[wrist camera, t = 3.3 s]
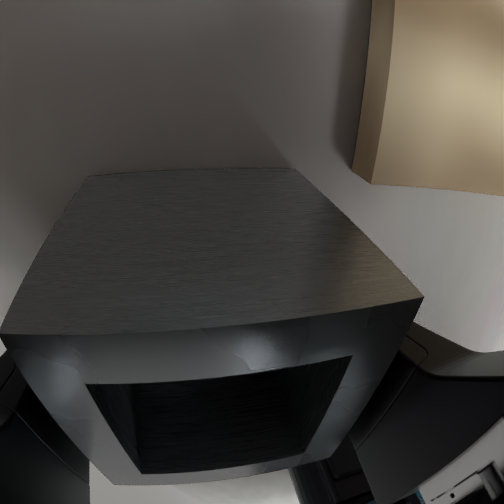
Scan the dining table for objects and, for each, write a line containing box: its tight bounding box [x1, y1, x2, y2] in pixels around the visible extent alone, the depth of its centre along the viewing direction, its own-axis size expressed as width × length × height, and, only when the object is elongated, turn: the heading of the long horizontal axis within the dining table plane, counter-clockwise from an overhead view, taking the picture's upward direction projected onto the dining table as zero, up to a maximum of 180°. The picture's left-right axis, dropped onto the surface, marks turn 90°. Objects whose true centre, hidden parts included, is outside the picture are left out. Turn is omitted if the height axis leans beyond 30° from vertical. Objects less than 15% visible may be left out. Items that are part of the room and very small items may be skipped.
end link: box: [0, 168, 424, 485], centre depth 8 cm, size 6×6×6 cm
